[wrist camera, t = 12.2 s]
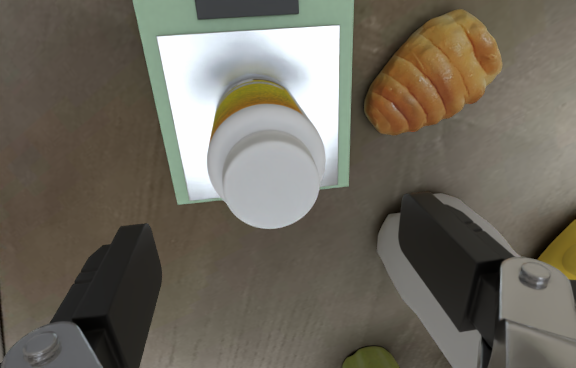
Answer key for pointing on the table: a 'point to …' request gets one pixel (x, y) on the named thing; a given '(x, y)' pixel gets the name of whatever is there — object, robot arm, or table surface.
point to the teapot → (563, 252)
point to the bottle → (420, 299)
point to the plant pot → (371, 359)
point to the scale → (246, 73)
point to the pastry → (433, 74)
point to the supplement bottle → (264, 155)
